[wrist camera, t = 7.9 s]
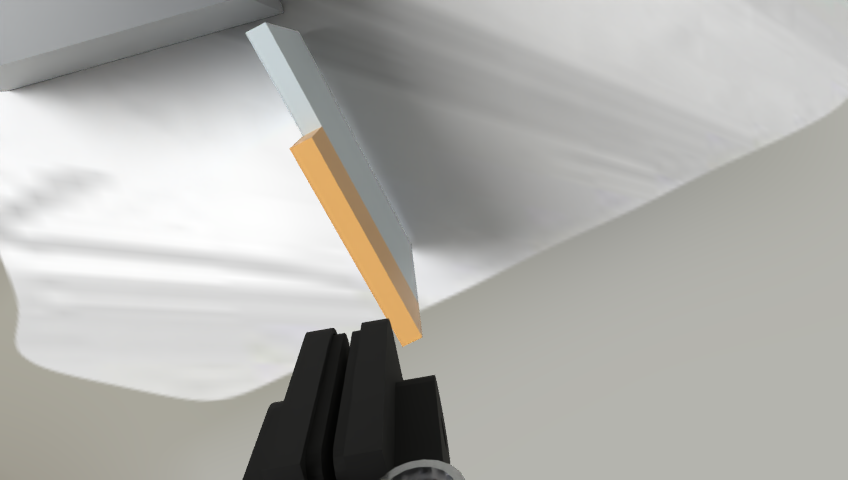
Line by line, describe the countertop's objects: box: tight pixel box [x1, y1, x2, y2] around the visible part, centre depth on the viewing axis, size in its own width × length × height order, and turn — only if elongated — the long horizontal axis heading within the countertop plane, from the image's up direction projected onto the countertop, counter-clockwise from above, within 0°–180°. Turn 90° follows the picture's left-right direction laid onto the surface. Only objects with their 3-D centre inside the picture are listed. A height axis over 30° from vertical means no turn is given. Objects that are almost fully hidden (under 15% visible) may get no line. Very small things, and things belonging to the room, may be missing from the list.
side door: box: [246, 22, 422, 346], centre depth 24 cm, size 12×1×11 cm, turn 26°
